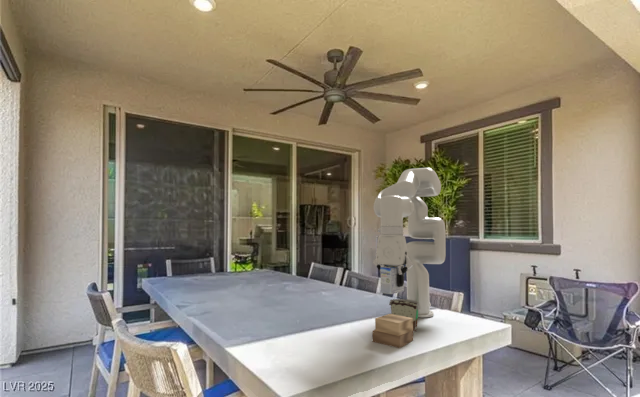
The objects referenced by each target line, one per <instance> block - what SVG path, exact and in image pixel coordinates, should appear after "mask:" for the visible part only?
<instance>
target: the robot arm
mask: <svg viewBox="0 0 640 397" xmlns="http://www.w3.org/2000/svg"><path fill="white" fill-rule="evenodd" d="M400 174H401V175H400V176H399V177H398V180H397V182H395V183H394V184H392V185H390V186H387V187H386V188H384V189H382V190H381V191H380V192H379V193H378V195H376V197H375V199H374V202H373V212H374V215H376V216H377V218H380V227H379V228H377V233H380V235H378V237H377V242H376V252H375V258H374V259H373V260H372V264H373V266H375V267H376V268H377V270H378V271H379V273H380V274H381V271H380V270H381V269H380V268H381V267H385V266H397V269H398V275H397V286H398V287H401V286H403V284H404V285H405V274H406V299H408V300H414V301H417V302H418V303H419V305H420V310H418V318H424V319H425V318H431V317H434V315H435V314H434V311H432V310H430V309H431V308H430V307H431V306H432V304H431V302H430V273H429V272H428V269H427V268H426V267H425V265H426V264H427V265H442V264H444V262H445V261H446V257H447V256H446V253H447V252H446V251H447V250H446V247H447V246H446V243H447V242H446V239H447V238H446V225H445V221H444V220H443V219H442V218H440V217H436V216H435V217H429V215H428V211H429V208H428V205H427V203H426V202H425V201H424V200H423V199H422V198H424V197H425V198H426V197H436V196H439V195H440V193H441V190H442V183H441V180H440V179H439V176H438V174H437V173H436V171H435V170H434V169H432V168H431V167H419V168H408V169H405V170H403V172H401V173H400ZM421 197H422V198H421ZM404 218H407V222H408V223H407V224H408V225H407V234H408V236H409V237H410V238H411V239H417V240H418V239H419V240H423V239H424V240H431V239H432V240H434V241H419V240H418V241H409V242H407V240H406V236H405V235H404ZM404 265H405V266H404Z"/></svg>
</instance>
